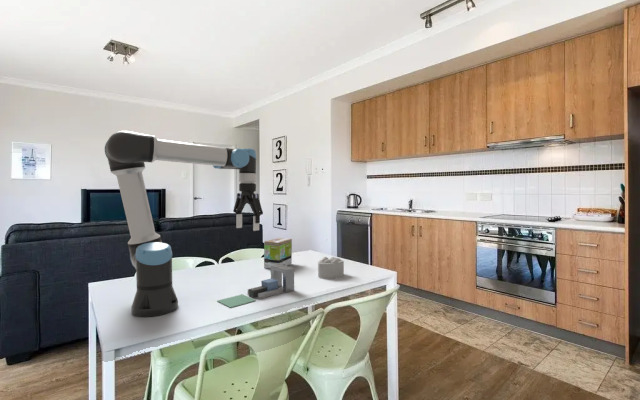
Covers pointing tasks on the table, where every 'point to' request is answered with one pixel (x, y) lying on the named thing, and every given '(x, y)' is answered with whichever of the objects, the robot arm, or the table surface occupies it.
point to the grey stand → (280, 280)
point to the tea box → (277, 252)
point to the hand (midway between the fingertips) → (247, 229)
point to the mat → (236, 301)
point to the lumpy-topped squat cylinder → (330, 268)
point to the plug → (263, 287)
